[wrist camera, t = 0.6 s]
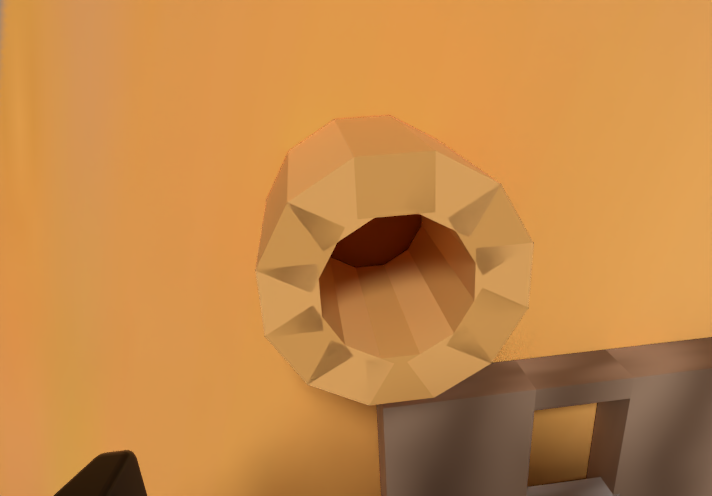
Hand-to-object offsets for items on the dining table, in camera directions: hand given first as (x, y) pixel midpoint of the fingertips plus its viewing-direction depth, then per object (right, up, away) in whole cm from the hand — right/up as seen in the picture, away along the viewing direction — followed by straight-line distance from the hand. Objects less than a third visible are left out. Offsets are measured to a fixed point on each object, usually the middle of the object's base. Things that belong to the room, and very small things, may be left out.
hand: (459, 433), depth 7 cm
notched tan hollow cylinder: (-1, +4, +11) cm, 12 cm away
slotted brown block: (+8, -8, +17) cm, 21 cm away
